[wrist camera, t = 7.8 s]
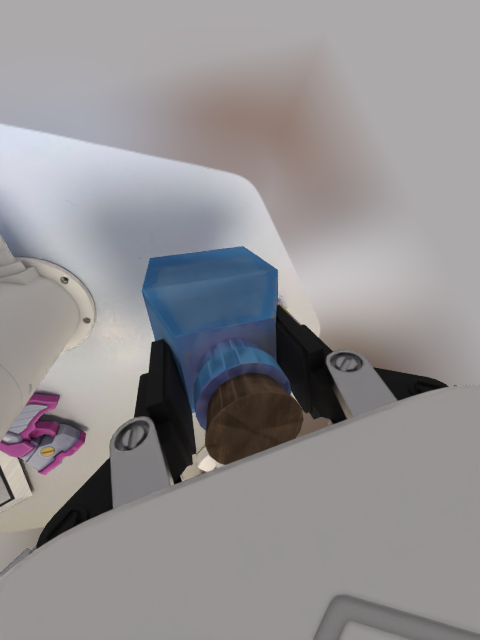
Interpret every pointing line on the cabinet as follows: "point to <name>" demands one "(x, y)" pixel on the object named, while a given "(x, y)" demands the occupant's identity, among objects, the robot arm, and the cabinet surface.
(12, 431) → the toy gun
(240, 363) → the perfume bottle
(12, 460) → the security device
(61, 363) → the cabinet surface
